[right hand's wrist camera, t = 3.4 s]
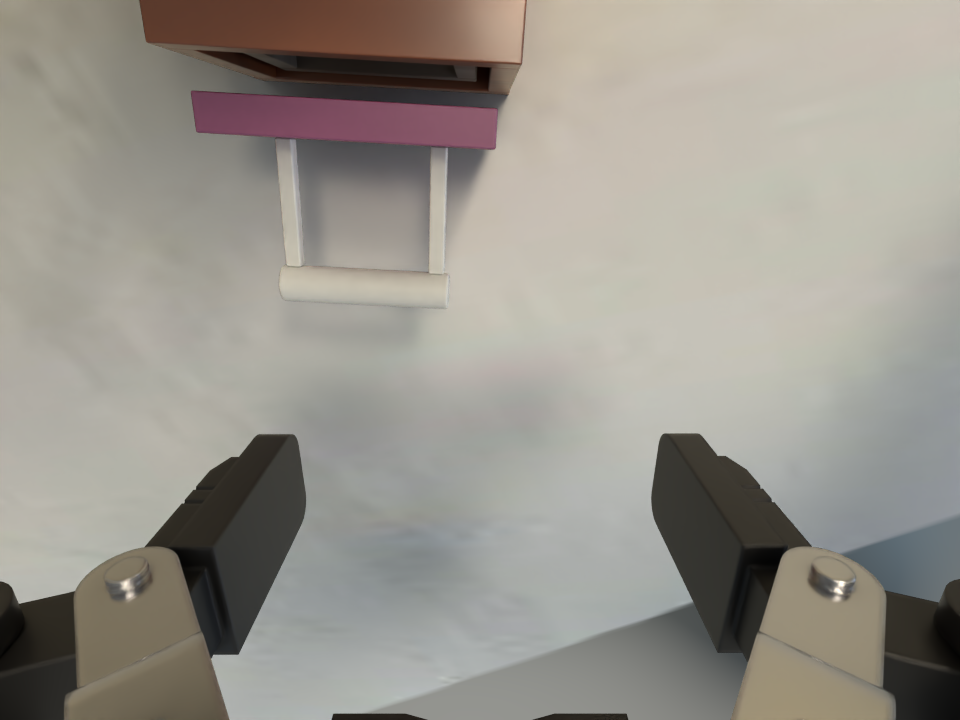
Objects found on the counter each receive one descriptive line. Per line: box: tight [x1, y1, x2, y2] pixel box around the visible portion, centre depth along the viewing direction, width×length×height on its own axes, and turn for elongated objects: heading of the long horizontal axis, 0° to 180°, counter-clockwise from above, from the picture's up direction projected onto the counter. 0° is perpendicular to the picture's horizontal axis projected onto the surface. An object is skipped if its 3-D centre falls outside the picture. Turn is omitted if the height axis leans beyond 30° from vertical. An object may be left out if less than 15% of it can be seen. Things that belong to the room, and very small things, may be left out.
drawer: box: [191, 53, 498, 309], centre depth 19 cm, size 18×10×7 cm, turn 177°
